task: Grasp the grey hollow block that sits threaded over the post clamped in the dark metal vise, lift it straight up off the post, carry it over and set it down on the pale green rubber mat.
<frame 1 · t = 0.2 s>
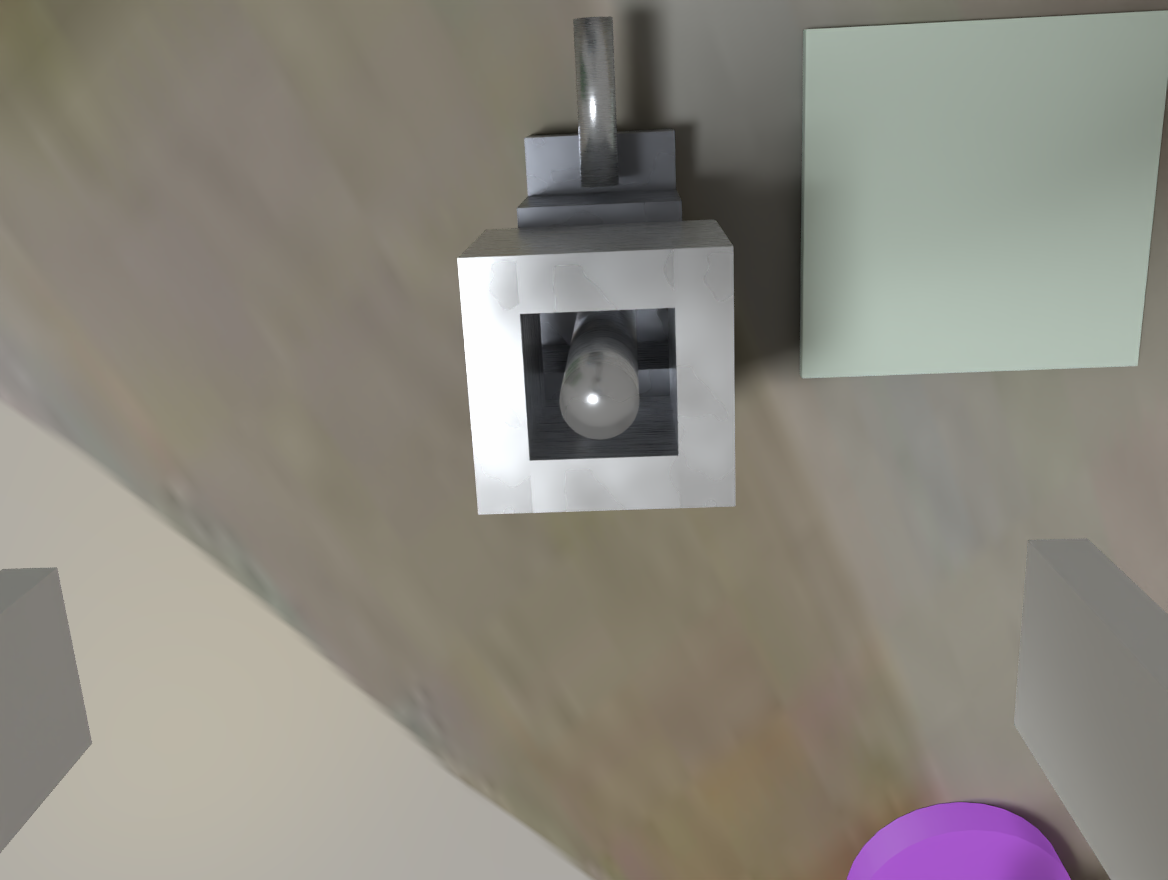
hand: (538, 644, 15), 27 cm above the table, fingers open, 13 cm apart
vise: (607, 302, 41), on the table
grey hollow block: (604, 337, 35), point 6 cm above the table, touching vise
mat: (973, 202, 39), on the table
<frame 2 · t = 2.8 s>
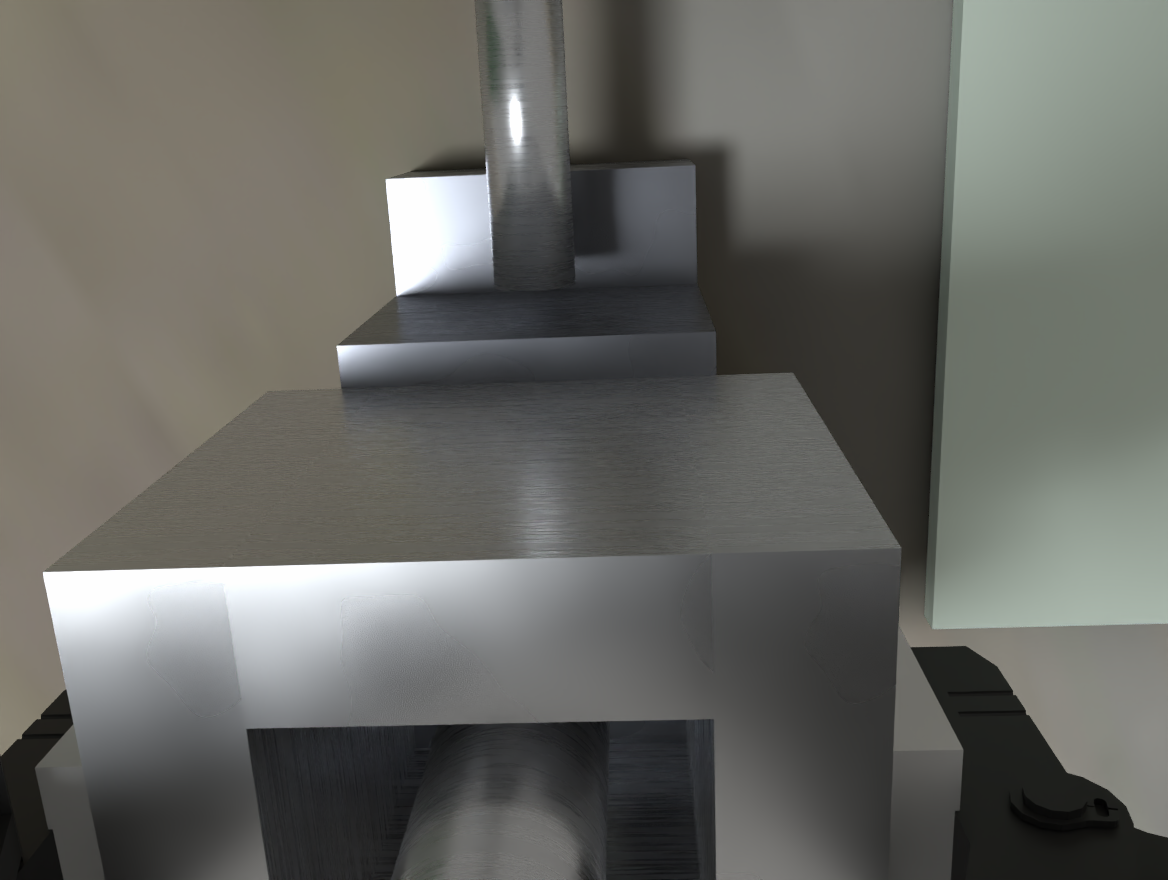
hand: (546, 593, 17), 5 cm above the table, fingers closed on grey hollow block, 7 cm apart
vise: (565, 483, 21), on the table
grey hollow block: (542, 621, 16), point 6 cm above the table, touching gripper, vise
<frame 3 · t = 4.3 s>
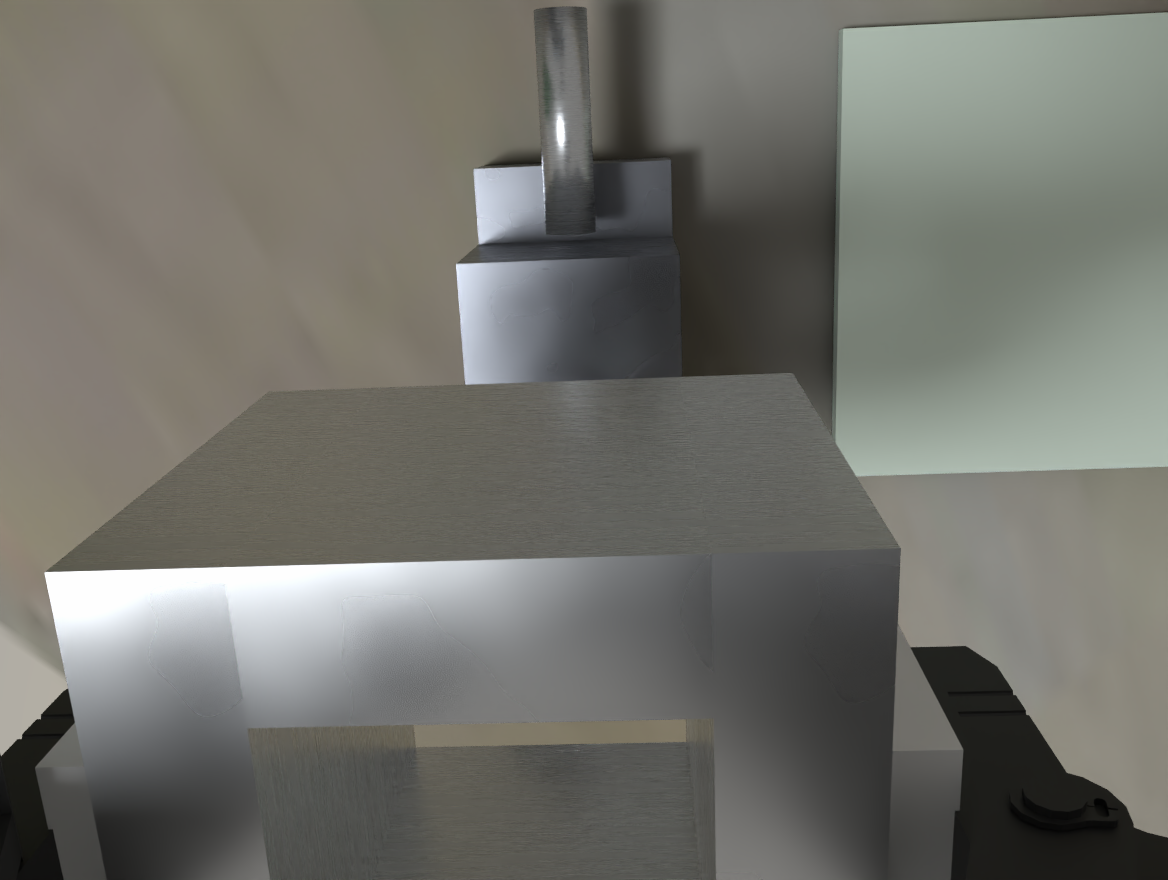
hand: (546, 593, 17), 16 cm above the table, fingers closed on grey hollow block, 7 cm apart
vise: (585, 378, 32), on the table
grey hollow block: (542, 621, 16), point 16 cm above the table, touching gripper
mat: (1057, 253, 30), on the table
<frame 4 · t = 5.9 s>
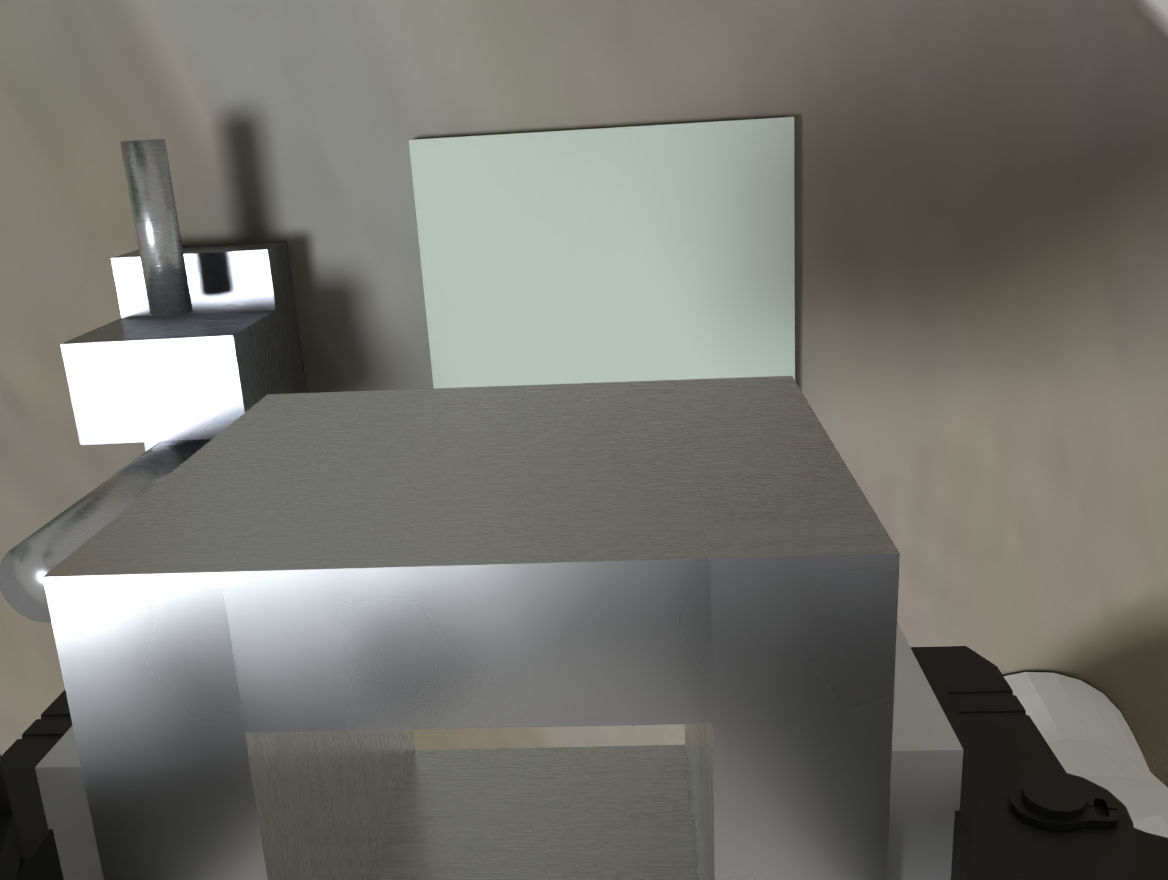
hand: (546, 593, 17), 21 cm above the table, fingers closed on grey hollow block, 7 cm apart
vise: (238, 420, 38), on the table
grey hollow block: (541, 624, 16), point 22 cm above the table, touching gripper
cup: (1022, 760, 41), on the table
mat: (609, 315, 37), on the table
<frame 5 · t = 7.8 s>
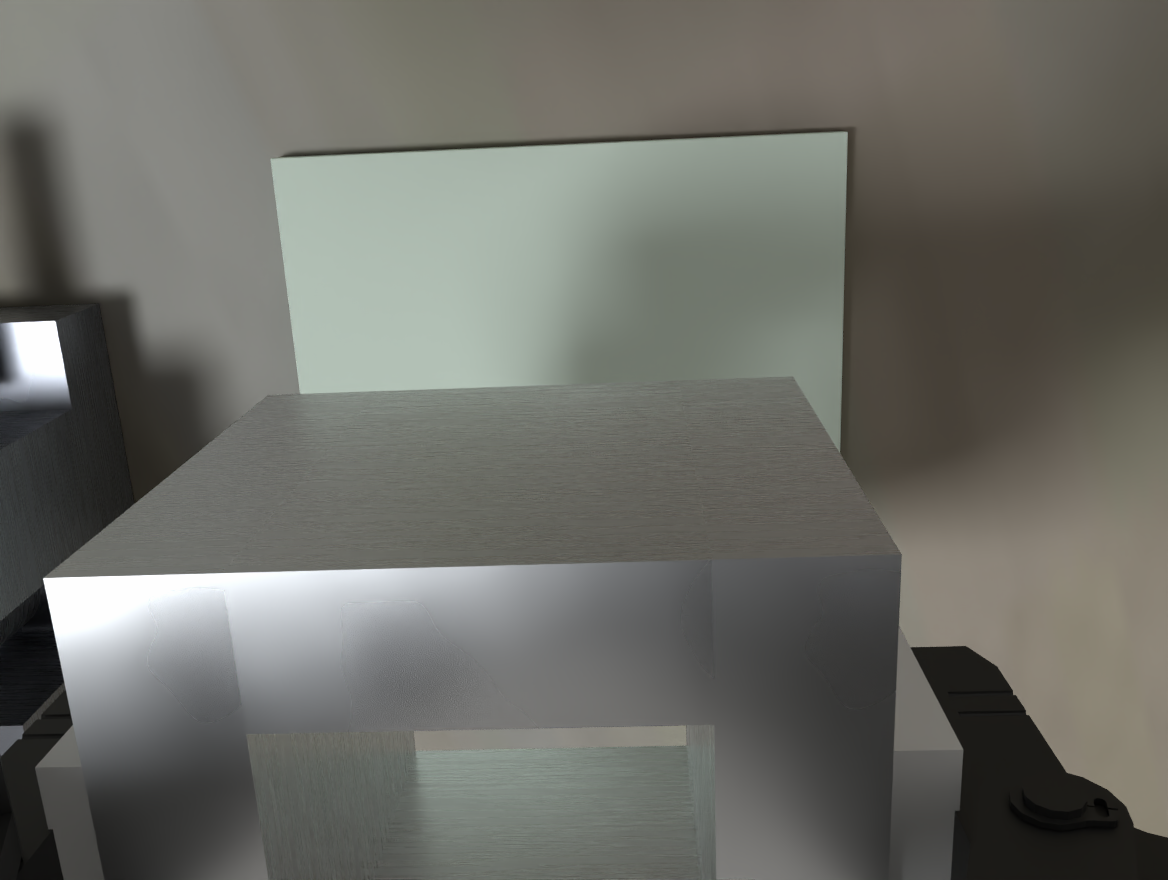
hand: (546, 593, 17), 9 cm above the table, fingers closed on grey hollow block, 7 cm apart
vise: (41, 553, 27), on the table
grey hollow block: (542, 625, 16), point 10 cm above the table, touching gripper
mat: (571, 415, 25), on the table
when the fingers open (3 cm above the table, at t = 9.3 s): grey hollow block drops 3 cm, resting on mat.
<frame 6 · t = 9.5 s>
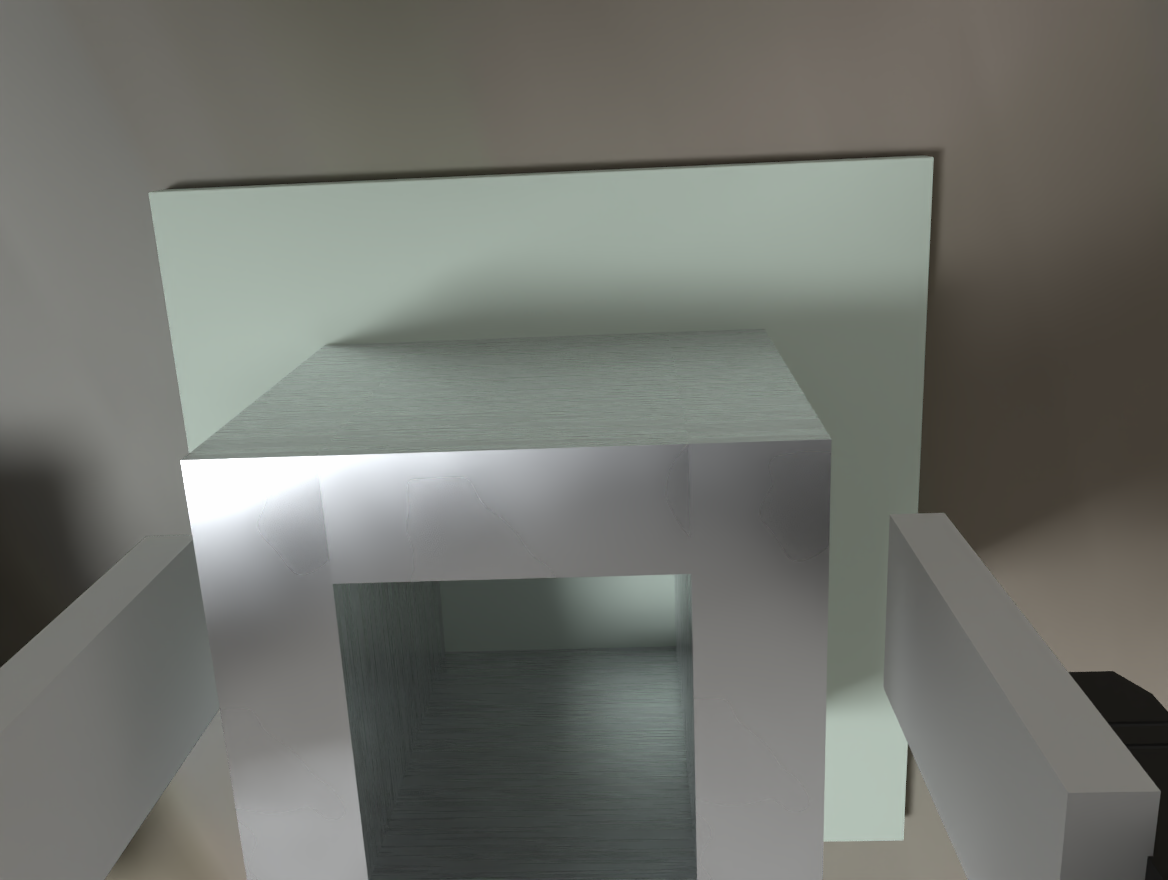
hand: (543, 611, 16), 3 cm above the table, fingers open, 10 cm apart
grey hollow block: (553, 541, 19), point 1 cm above the table, touching mat
mat: (557, 528, 19), on the table
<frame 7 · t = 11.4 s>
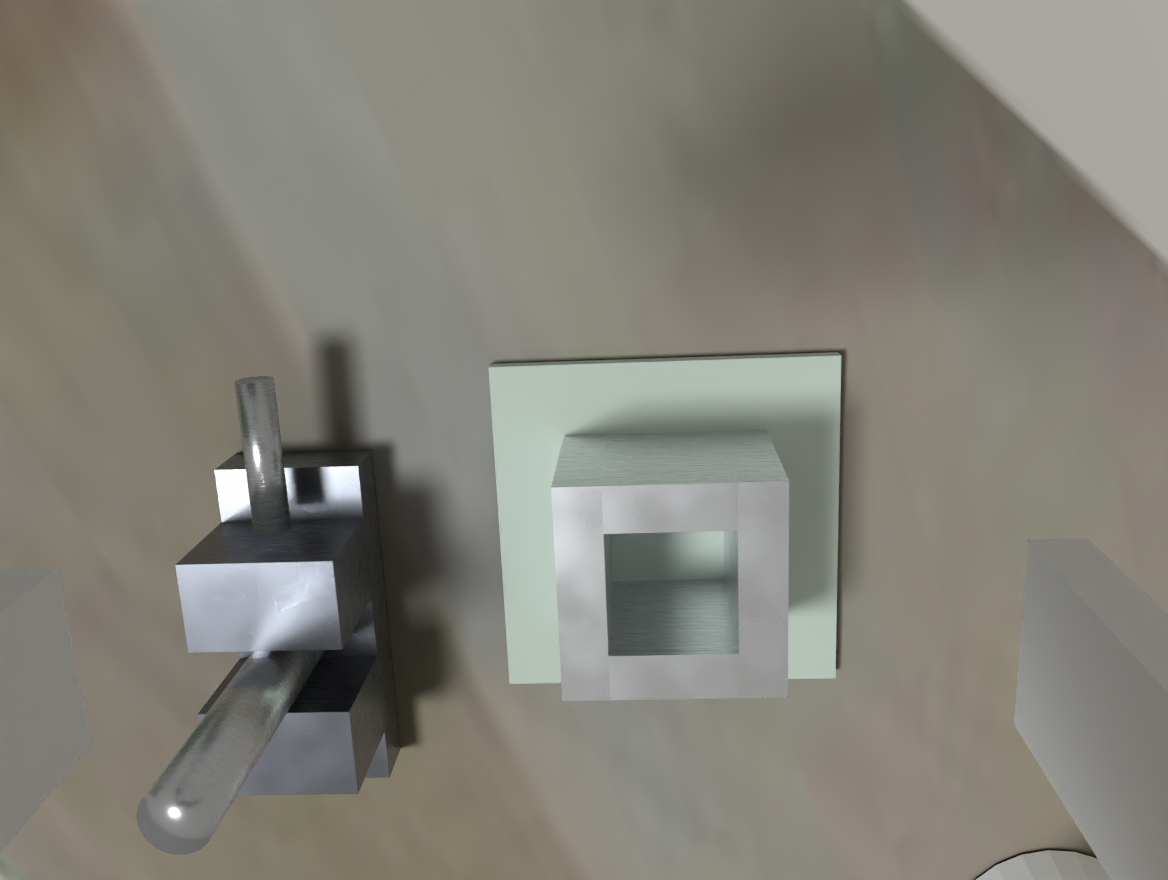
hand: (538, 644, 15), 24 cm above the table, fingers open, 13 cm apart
vise: (320, 606, 41), on the table
grey hollow block: (666, 527, 39), point 1 cm above the table, touching mat
mat: (667, 521, 40), on the table
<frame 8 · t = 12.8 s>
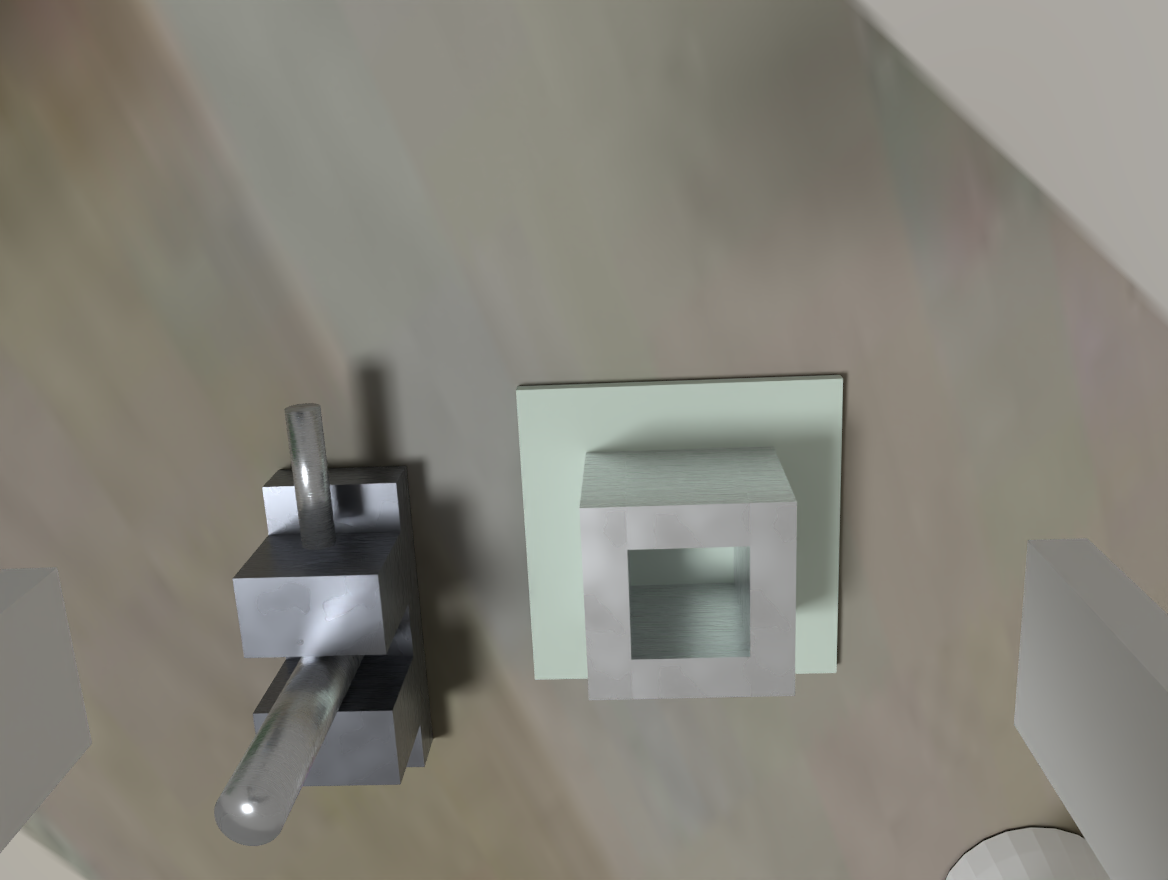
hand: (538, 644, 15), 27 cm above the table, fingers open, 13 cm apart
vise: (358, 609, 45), on the table
grey hollow block: (681, 536, 42), point 1 cm above the table, touching mat
mat: (680, 530, 43), on the table
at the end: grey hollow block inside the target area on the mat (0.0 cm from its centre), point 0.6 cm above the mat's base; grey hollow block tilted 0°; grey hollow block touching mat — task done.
